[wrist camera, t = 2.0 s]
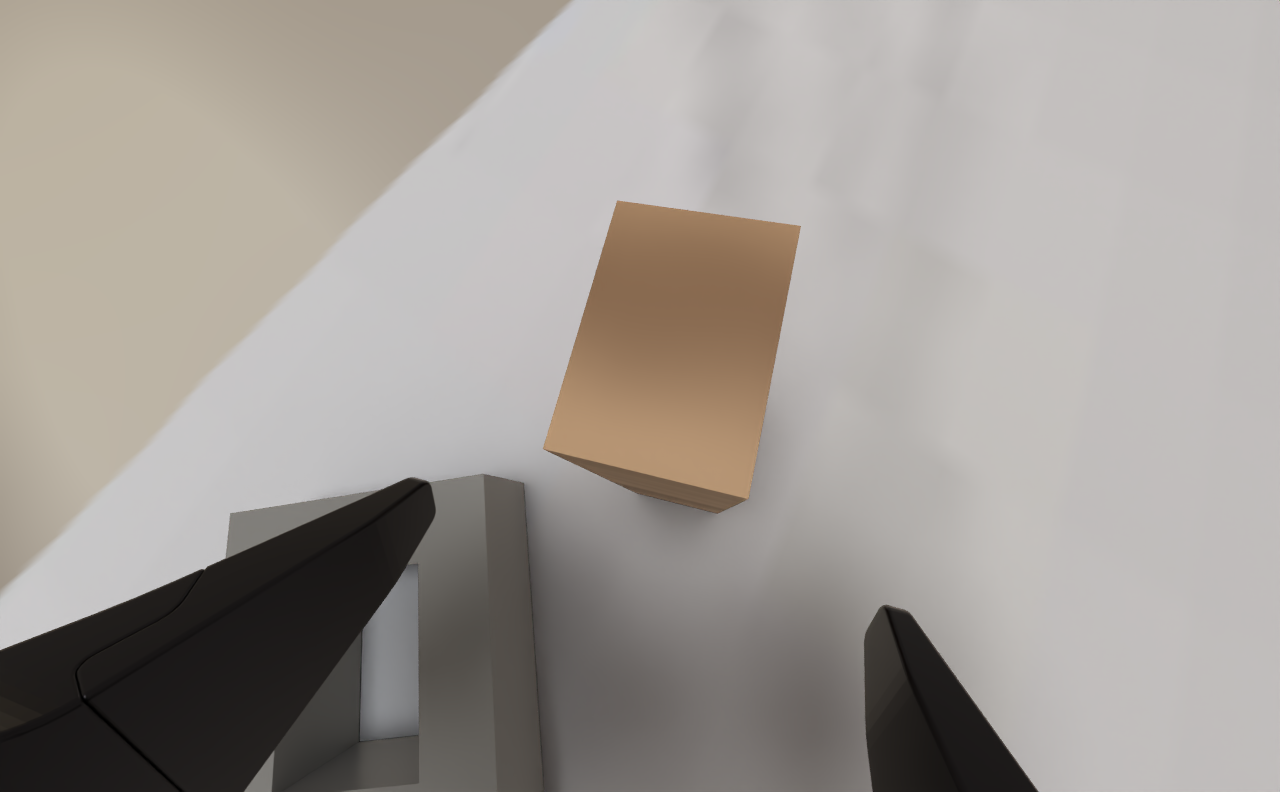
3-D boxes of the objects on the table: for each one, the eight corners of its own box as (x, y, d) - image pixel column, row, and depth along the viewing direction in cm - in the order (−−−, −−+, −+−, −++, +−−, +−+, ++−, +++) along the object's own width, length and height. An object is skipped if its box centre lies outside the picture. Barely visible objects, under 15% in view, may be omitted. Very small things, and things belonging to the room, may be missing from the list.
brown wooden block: (717, 513, 19) (748, 499, 7) (636, 493, 20) (542, 448, 8) (741, 399, 20) (800, 226, 8) (663, 383, 21) (617, 200, 9)
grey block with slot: (545, 807, 17) (501, 887, 14) (296, 830, 18) (188, 912, 14) (523, 483, 21) (483, 473, 17) (314, 515, 21) (230, 513, 18)
